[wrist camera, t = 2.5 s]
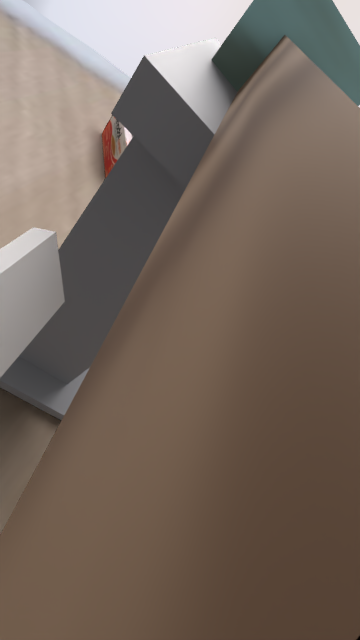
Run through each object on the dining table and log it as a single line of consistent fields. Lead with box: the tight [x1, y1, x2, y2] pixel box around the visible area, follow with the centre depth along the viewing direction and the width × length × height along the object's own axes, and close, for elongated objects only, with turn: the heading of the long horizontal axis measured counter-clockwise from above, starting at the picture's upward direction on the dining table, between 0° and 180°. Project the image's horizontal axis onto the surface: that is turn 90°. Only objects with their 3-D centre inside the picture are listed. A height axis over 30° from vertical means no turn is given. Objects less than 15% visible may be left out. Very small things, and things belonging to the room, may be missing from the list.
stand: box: [0, 38, 237, 421], centre depth 26 cm, size 16×12×30 cm
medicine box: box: [102, 115, 133, 178], centre depth 60 cm, size 15×8×8 cm, turn 12°
